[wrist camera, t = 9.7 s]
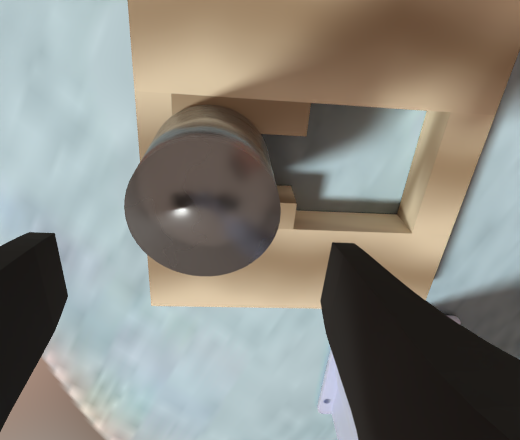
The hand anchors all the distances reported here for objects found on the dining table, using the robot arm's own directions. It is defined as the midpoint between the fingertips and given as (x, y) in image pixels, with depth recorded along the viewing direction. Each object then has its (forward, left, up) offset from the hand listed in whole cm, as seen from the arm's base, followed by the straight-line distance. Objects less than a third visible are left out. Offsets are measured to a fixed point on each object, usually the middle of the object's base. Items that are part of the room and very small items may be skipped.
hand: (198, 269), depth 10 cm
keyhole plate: (0, -4, -9) cm, 10 cm away
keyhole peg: (0, 0, -9) cm, 9 cm away
